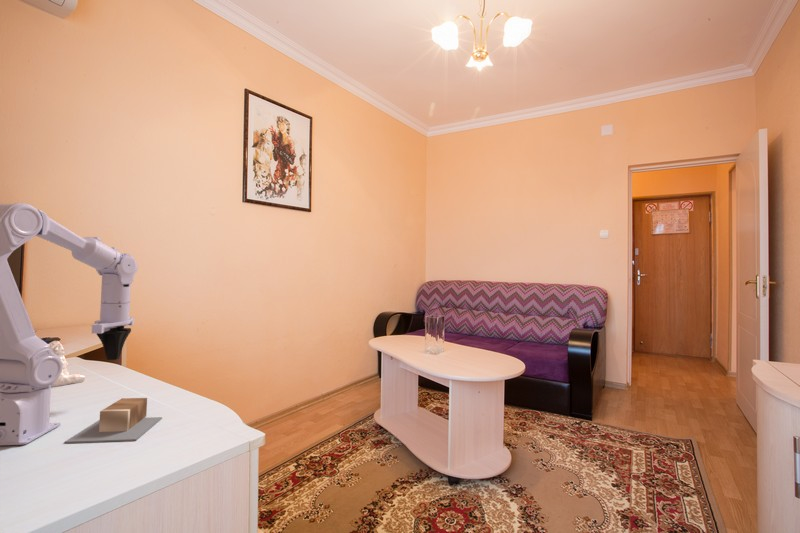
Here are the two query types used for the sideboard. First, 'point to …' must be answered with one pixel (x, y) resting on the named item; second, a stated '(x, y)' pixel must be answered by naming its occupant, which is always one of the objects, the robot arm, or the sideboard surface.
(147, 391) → the sideboard surface
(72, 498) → the sideboard surface
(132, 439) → the slate rubber mat
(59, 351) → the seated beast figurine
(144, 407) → the walnut block
